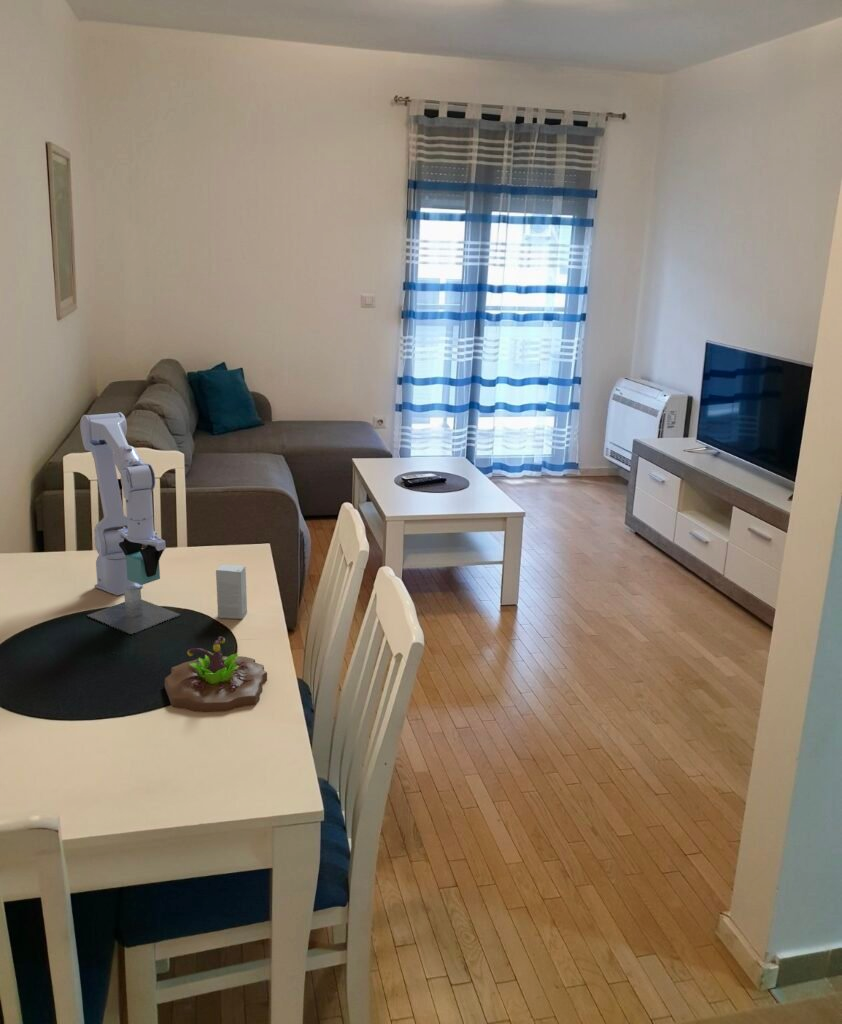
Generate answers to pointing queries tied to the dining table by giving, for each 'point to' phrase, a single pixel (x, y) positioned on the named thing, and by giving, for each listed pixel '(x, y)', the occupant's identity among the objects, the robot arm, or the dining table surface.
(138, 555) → the teal box
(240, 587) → the skincare box
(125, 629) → the dark grey square tile
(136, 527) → the robot arm
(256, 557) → the dining table surface
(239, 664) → the plant
